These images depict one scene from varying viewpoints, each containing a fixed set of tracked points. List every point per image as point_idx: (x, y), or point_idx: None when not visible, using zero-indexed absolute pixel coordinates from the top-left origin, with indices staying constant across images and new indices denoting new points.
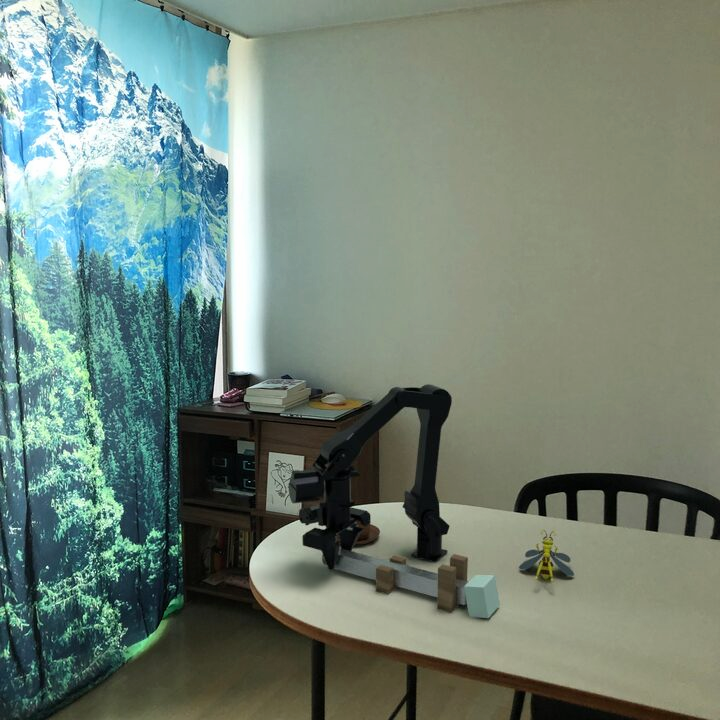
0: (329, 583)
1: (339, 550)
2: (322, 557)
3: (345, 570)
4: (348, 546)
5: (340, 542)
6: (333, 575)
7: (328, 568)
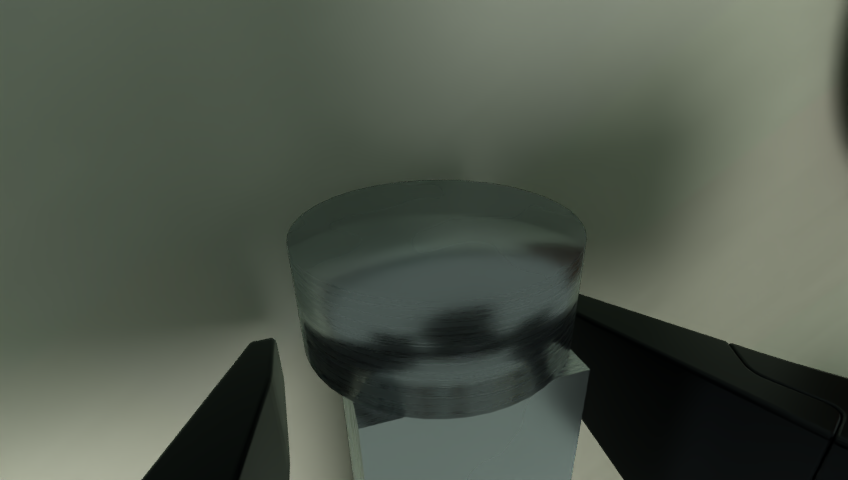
0: (118, 420)
1: (509, 467)
2: (291, 260)
3: (351, 456)
4: (652, 476)
5: (716, 386)
6: (287, 331)
7: (246, 348)
